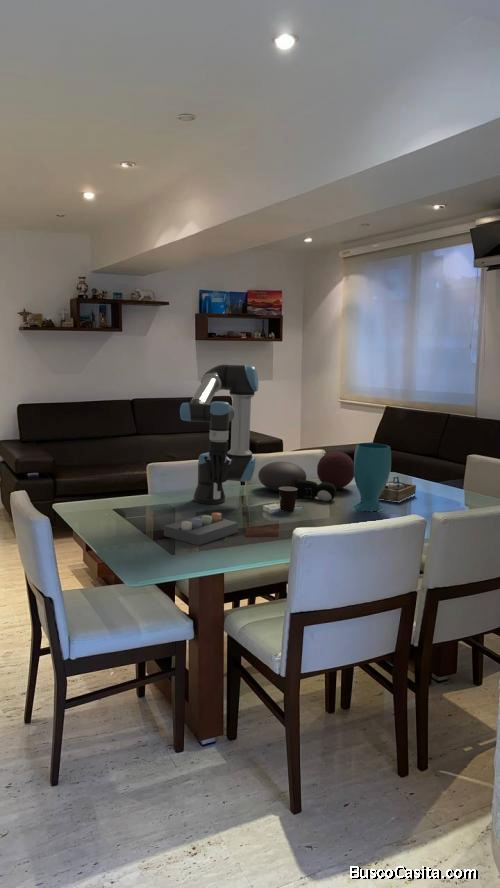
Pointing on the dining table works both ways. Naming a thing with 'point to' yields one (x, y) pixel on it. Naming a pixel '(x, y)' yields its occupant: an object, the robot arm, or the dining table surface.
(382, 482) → the vase
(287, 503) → the coffee mug
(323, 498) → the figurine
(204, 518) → the button sage
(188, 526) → the button ivory
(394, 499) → the camera caddy
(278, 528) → the dining table surface
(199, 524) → the button slate
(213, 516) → the button terracotta
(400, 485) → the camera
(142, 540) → the dining table surface
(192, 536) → the console
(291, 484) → the smooth stone
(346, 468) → the decorative sphere
